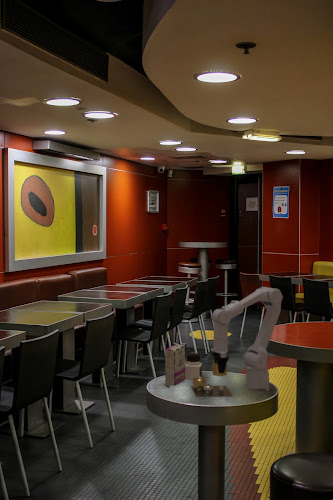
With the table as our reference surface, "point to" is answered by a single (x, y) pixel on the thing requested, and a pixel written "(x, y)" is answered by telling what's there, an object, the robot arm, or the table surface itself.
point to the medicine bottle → (193, 366)
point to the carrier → (208, 389)
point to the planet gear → (215, 370)
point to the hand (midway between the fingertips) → (220, 371)
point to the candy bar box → (174, 365)
